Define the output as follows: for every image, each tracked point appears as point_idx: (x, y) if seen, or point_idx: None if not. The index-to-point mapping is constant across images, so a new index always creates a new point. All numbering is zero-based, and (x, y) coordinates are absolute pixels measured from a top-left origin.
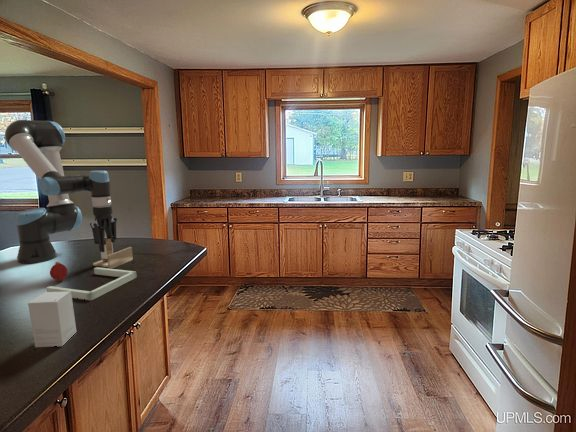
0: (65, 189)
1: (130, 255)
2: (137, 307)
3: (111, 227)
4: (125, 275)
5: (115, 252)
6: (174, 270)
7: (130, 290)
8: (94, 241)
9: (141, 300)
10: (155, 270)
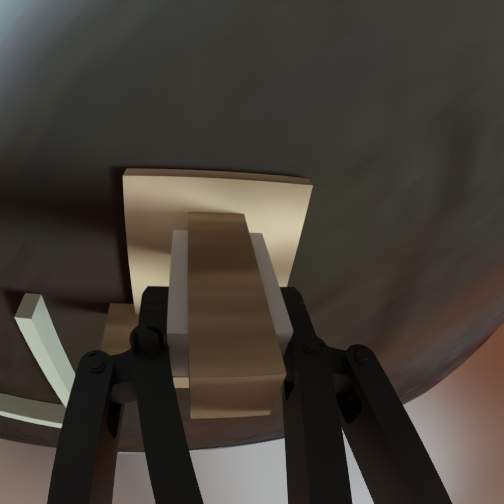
0: None
1: None
2: (8, 439)
3: (392, 487)
4: (53, 424)
5: (176, 378)
6: (193, 445)
7: (33, 423)
8: (74, 384)
9: (24, 440)
10: None
